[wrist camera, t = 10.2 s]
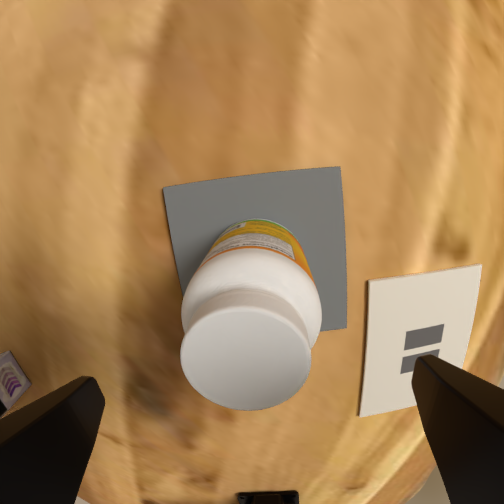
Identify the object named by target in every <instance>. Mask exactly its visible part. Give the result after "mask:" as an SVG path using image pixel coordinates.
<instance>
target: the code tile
mask: <svg viewBox="0 0 504 504" xmlns="http://www.w3.org/2000/svg"><path fill="white" fill-rule="evenodd" d="M481 269H482V265H481V264H474V265H468V266H462V267H456V268H449V269H443V270H436V271H430V272H423V273H416V274H409V275H402V276H395V277H387V278H380V279H372V280H368V312H367V334H366V350H365V363H364V374H363V385H362V394H361V403H360V411H359V417H365V416H370V415H375V414H380V413H385V412H390V411H394V410H399V409H403V408H407V407H411V406H415V405H417V403H416V400H415V396H414V393H413V390H412V385H411V381H412V375H413V370H414V365H415V361H416V358H417V357H419V356H422V355H427V354H432V355H434V356H436V357H438V358H440V359H442V360H444V361H446V362H448V363H450V364H452V365H454V366H457V367H459V368H461V369H462V366H463V363H464V359H465V355H466V351H467V347H468V343H469V339H470V334H471V330H472V325H473V320H474V315H475V310H476V304H477V298H478V292H479V285H480V277H481Z"/></svg>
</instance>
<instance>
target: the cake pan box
mask: <svg viewBox="0 0 504 504" xmlns="http://www.w3.org/2000/svg"><path fill="white" fill-rule="evenodd" d="M31 385H32V384H31V383H30V381H29V380H28V378H27V377H26V375H25V374H24V372H23V371H22V369H21V367H20V366H19V364H18V363H17V361H16V359H15V358H14V356H13V355H12V353H11V351H7V352H4V353H1V354H0V419H1V418H2V417H3V416H4V414H5V413H6V412H7V411H8V410H9V409H10V408H11V407H12V406H13V405H14V403H15V402H16V401H17V400H18V399H19V398H20V397H21V396H22V394H23V393H24V392H25V391H26V390H27V389H28V388H29V387H30V386H31Z"/></svg>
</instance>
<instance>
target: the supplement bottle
mask: <svg viewBox="0 0 504 504" xmlns="http://www.w3.org/2000/svg"><path fill="white" fill-rule="evenodd" d="M181 318H182V325H183V329H184V333H185V336H184V338H183V341H182V344H181V349H180V360H181V366H182V369H183V372H184V374H185V376H186V378H187V380H188V381H189V382H190V384H191V385H192V386H193V388H194V389H195V390H196V391H198V392H199V393H200V394H201V395H202V396H204V397H205V398H207V399H208V400H210V401H212V402H214V403H216V404H218V405H221V406H224V407H227V408H231V409H235V410H248V411H252V410H262V409H266V408H270V407H273V406H276V405H278V404H281V403H283V402H284V401H286V400H288V399H289V398H291V397H292V396H293V395H295V394H296V393H297V392H298V391H299V389H300V388H301V387H302V386H303V384H304V383H305V381H306V379H307V377H308V375H309V372H310V367H311V348H312V347H313V345H314V344H315V342H316V340H317V337H318V335H319V332H320V328H321V322H322V309H321V303H320V298H319V295H318V291H317V288H316V285H315V283H314V280H313V277H312V274H311V271H310V268H309V266H308V263H307V260H306V257H305V255H304V252H303V249H302V247H301V245H300V243H299V242H298V240H297V239H296V237H295V236H294V235H293V234H292V233H291V232H290V231H289V230H288V229H287V228H285V227H284V226H282V225H280V224H278V223H276V222H273V221H270V220H266V219H248V220H244V221H241V222H238V223H236V224H234V225H232V226H230V227H229V228H228V229H226V230H225V231H224V232H223V233H222V234H221V235H220V236H219V237H218V239H217V240H216V241H215V243H214V244H213V246H212V247H211V249H210V251H209V252H208V254H207V255H206V257H205V259H204V260H203V262H202V263H201V265H200V266H199V268H198V269H197V271H196V272H195V274H194V275H193V277H192V279H191V280H190V282H189V284H188V287H187V289H186V292H185V294H184V297H183V301H182V308H181Z"/></svg>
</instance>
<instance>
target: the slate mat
mask: <svg viewBox="0 0 504 504" xmlns="http://www.w3.org/2000/svg"><path fill="white" fill-rule="evenodd" d="M163 191H164V198H165V204H166V210H167V216H168V222H169V228H170V233H171V239H172V244H173V250H174V255H175V260H176V265H177V270H178V275H179V280H180V285H181V289H182V294H183V297H184V294H185V292H186V289H187V287H188V284H189V282H190V280H191V279H192V277H193V275H194V274H195V272H196V271H197V269H198V268H199V266H200V265H201V263H202V262H203V260H204V259H205V257H206V255H207V254H208V252H209V251H210V249H211V247H212V246H213V244H214V243H215V241H216V240H217V239H218V237H219V236H220V235H221V234H222V233H223V232H224V231H225V230H226V229H228V228H229V227H230V226H232V225H234V224H236V223H238V222H241V221H244V220H248V219H266V220H270V221H273V222H276V223H278V224H280V225H282V226H284V227H285V228H287V229H288V230H289V231H290V232H291V233H292V234H293V235H294V236H295V237H296V239H297V240H298V242H299V243H300V245H301V247H302V249H303V252H304V255H305V257H306V260H307V263H308V266H309V268H310V271H311V274H312V277H313V280H314V283H315V285H316V288H317V291H318V295H319V298H320V303H321V309H322V322H321V328H320V331H328V330H336V329H344V328H347V271H346V241H345V222H344V206H343V192H342V180H341V169H340V167H325V168H312V169H301V170H290V171H280V172H270V173H261V174H253V175H244V176H236V177H229V178H221V179H214V180H207V181H200V182H194V183H187V184H181V185H175V186H169V187H164V188H163Z"/></svg>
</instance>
